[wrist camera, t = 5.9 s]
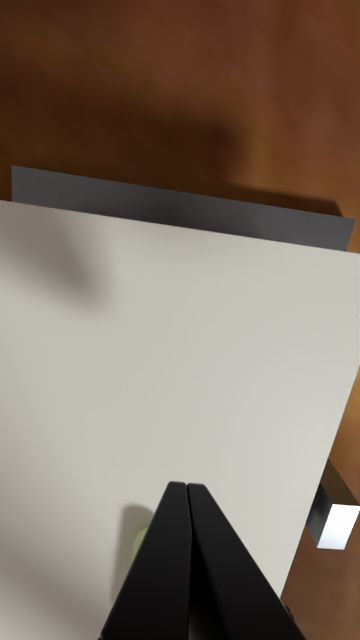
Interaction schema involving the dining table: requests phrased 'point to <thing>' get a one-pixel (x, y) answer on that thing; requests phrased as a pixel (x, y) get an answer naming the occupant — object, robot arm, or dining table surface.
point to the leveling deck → (156, 397)
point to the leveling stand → (217, 216)
